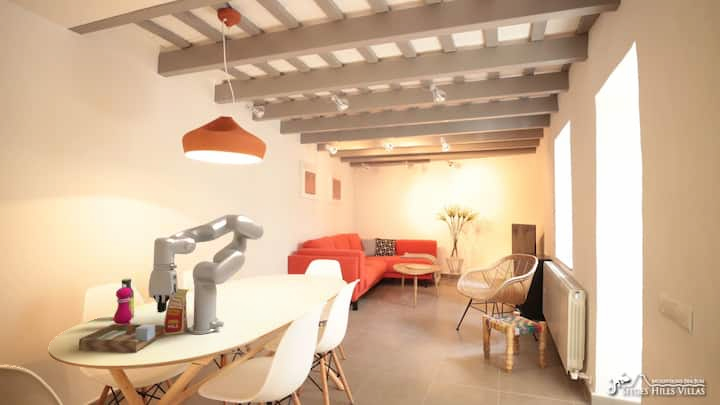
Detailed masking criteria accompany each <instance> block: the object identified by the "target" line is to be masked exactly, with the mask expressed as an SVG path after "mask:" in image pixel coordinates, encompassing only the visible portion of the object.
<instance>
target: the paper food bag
mask: <svg viewBox="0 0 720 405" xmlns="http://www.w3.org/2000/svg"><path fill="white" fill-rule="evenodd" d="M188 291H189V289H186V288H185V289H183V288H178V290H177V293H175V294H176V297H174V298H171V299H169V300H168V302H167V303H168V304H167V308H166V311H165V315H164V322H163V325H164V336H166V335H169V336H170V335H178V334H183V333H185V332H186V331H187V330H188V329H189V328H188V318H187V294H188Z"/></svg>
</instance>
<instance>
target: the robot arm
mask: <svg viewBox="0 0 720 405" xmlns="http://www.w3.org/2000/svg"><path fill="white" fill-rule="evenodd" d="M231 232H233V238H232V240H231V242H229V243H228V244H227V245H225V246H224V247H223V248H221V249H219V251H217V252H216V253H215V254H214V255H213V258H212V261H205V260H204V261H200V262H198V263H197V264H195V266H194V267H193V269H192V280H193V285H194V286H193V287H194V288H193V291H194V292H193V294H194V296H193V321H192V322H193V325H192V326H190V327H189V328H188V329H189V333H190V334H194V335H204V334H211V333H213V332H216V331H218V330H219V329H220V328H224V327H225V326H224V325H225V322H224V321H221V320H220V321H219V318H218V317H217V285H221V284H224V283H225V282H227V281H228V280H229V279H230V278H232V277H233V276H234V275H235V274H236V273H238V272H239V271H240V270H241V269H242V268H243V267H244V264H245V261H246V256H245V255H244V253H246V250H247V242H248V240H253V241H254V240H259V239H261V238H262V237H263V235H264V228H263V226H262V225H261V224H260V223H259V222H256V221H255V220H253V219H251V218H249V217H246V216H244V215H242V214H226V215H223V216H220V217H218V218H215V219H214V220H212V221H209V222H208V223H204V224H200V225H197V226H195V227H191V228H187V229H184V230H181V231H179V232H176V233H175V234H171V236H169V237H157V238H156V239H155V240H154V243H153V244H154V246H153V250H154V251H153V264H152V265H153V266H152V269H153V270H151V273H150V276H149V281H148V298H151V299H154V300H155V302H156V303H157V304H156V307H157V308H156V310H157V314H158V313H160V314H161V313H165V312H166V310H167V306H168V304H167V303H168V302H169V299H171V298H174V297H176V294H175V293H177V290H178V289H179V288H178V286H179V285H178V274H177V270H176V269H178V268H177V267H178V266H177V264H175V255H188V254H191V253H193V252H194V251H195V250H196V247H197V244H198V243H205V242H212V241H215V240H217V239H219V238H221V237H223V236H225V235H226V234H229V233H231Z"/></svg>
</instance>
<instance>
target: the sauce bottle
mask: <svg viewBox="0 0 720 405" xmlns="http://www.w3.org/2000/svg"><path fill="white" fill-rule="evenodd" d="M124 284H125V285H126V288H129V289H130V290H131V295H130V296H129V297H130V301H129V308H130V311H131V313H132V319H133V318H134V317H135V296H134V294H135V292H134V290H133V288H132V278H123V279H121V286H122V285H124Z"/></svg>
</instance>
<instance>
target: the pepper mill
mask: <svg viewBox="0 0 720 405" xmlns="http://www.w3.org/2000/svg"><path fill="white" fill-rule="evenodd" d="M115 292H116V293H115V296H116V298H117V299H116V300H117V301H116V303H117V309H116V311H115V313H114V314H113V322H114V324H132V322H131V321H132V319H133V318H132V313H131V311H130V308H129V301H130V297H129V296H130V295H131V290H130V289H129V288H126V285H125V284H124V285H122V284H121V288H119V289H118V290H116V291H115Z"/></svg>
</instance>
